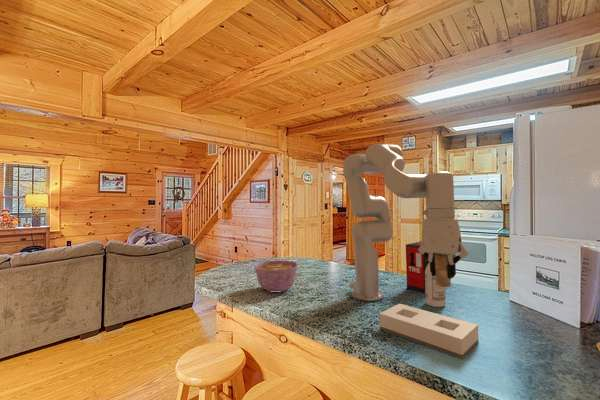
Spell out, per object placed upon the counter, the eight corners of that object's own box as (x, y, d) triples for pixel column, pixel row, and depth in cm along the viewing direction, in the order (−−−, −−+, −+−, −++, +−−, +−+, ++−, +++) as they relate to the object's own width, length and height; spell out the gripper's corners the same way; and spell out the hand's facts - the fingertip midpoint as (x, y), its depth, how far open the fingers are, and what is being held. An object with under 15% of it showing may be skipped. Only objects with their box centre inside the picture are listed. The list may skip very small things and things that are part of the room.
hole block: (462, 359, 74) (461, 339, 74) (380, 329, 92) (379, 313, 92) (478, 342, 82) (478, 324, 82) (399, 318, 100) (399, 303, 100)
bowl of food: (246, 290, 136) (246, 265, 136) (280, 281, 149) (280, 258, 149) (272, 300, 121) (271, 272, 121) (307, 289, 134) (307, 264, 134)
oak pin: (433, 285, 86) (432, 254, 86) (439, 282, 89) (437, 252, 89) (447, 287, 83) (446, 256, 83) (453, 284, 86) (451, 254, 86)
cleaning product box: (425, 293, 124) (424, 246, 124) (406, 289, 131) (405, 244, 131) (445, 285, 134) (443, 242, 134) (426, 281, 141) (425, 240, 141)
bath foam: (449, 305, 110) (448, 252, 110) (438, 309, 107) (436, 254, 107) (433, 300, 116) (432, 249, 116) (421, 303, 113) (420, 251, 113)
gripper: (407, 214, 90) (409, 274, 90) (467, 215, 78) (469, 284, 77) (418, 213, 95) (420, 270, 95) (476, 213, 83) (479, 278, 82)
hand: (442, 275), depth 86 cm, fingers closed on oak pin, 4 cm apart
